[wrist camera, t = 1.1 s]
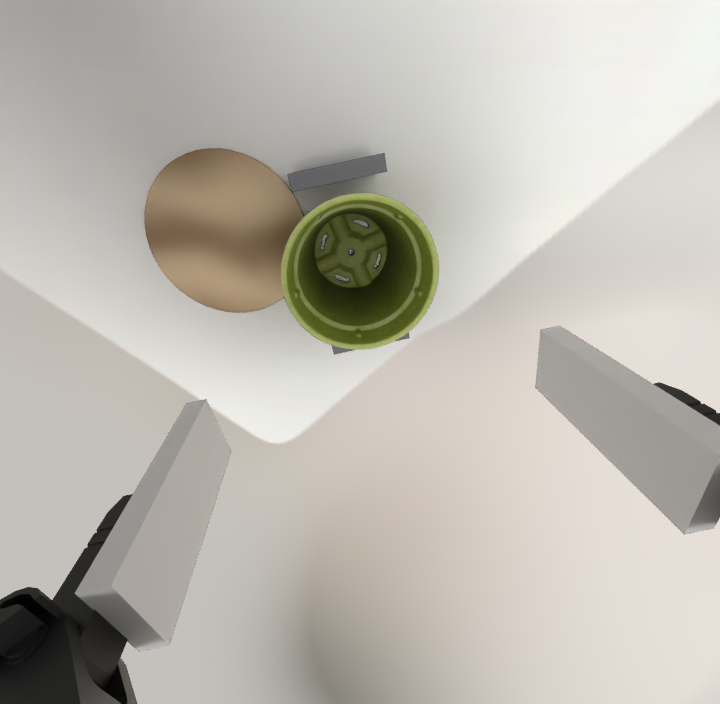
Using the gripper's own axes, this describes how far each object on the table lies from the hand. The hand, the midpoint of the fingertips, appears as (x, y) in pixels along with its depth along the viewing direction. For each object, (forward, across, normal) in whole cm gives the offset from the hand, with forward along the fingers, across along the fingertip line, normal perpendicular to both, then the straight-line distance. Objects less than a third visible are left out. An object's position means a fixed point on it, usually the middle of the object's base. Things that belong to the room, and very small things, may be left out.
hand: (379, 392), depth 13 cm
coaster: (+17, -8, +5) cm, 20 cm away
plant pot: (+18, +1, +2) cm, 18 cm away
